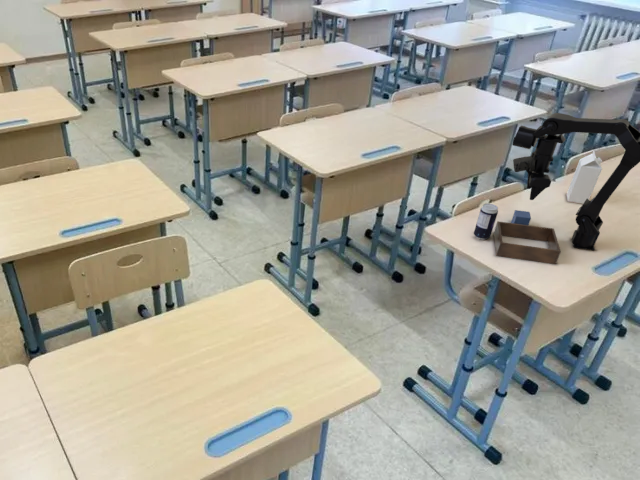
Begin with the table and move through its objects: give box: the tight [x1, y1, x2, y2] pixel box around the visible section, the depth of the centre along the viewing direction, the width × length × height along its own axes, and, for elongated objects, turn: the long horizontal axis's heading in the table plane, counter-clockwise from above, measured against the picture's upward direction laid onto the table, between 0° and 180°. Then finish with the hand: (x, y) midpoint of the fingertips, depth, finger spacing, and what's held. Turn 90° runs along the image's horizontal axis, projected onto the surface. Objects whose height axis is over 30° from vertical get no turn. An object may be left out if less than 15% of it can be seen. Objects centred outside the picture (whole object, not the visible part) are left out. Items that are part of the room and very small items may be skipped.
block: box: [510, 209, 532, 225], centre depth 202 cm, size 5×5×5 cm
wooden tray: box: [493, 220, 561, 265], centre depth 190 cm, size 19×16×5 cm
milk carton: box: [566, 150, 603, 205], centre depth 214 cm, size 7×7×19 cm
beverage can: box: [473, 203, 499, 241], centre depth 194 cm, size 6×6×12 cm
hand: (529, 194), depth 196 cm, fingers open, 9 cm apart
